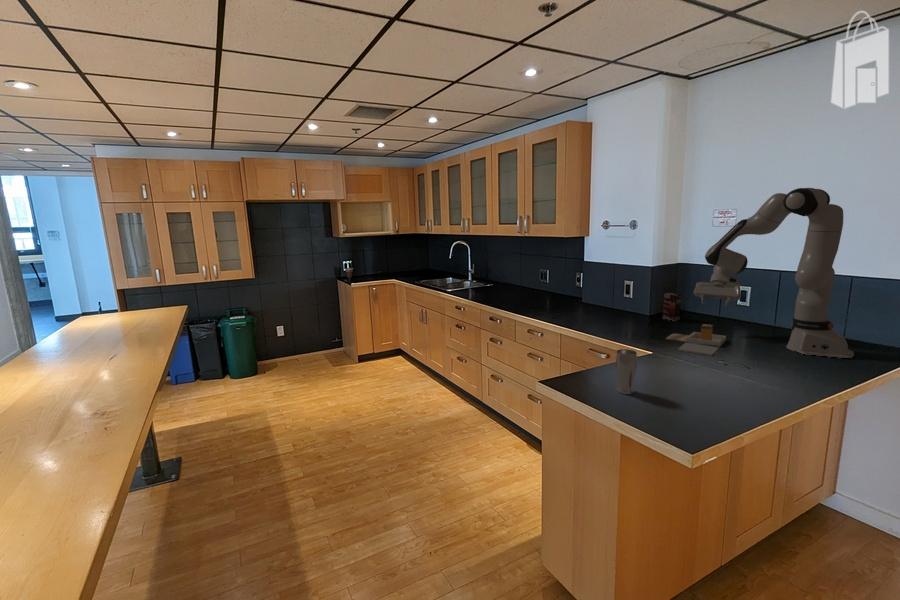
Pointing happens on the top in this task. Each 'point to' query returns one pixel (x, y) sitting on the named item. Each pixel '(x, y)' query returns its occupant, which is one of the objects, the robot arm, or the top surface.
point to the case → (702, 344)
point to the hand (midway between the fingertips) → (713, 304)
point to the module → (706, 332)
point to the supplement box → (671, 306)
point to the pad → (677, 337)
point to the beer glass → (626, 370)
